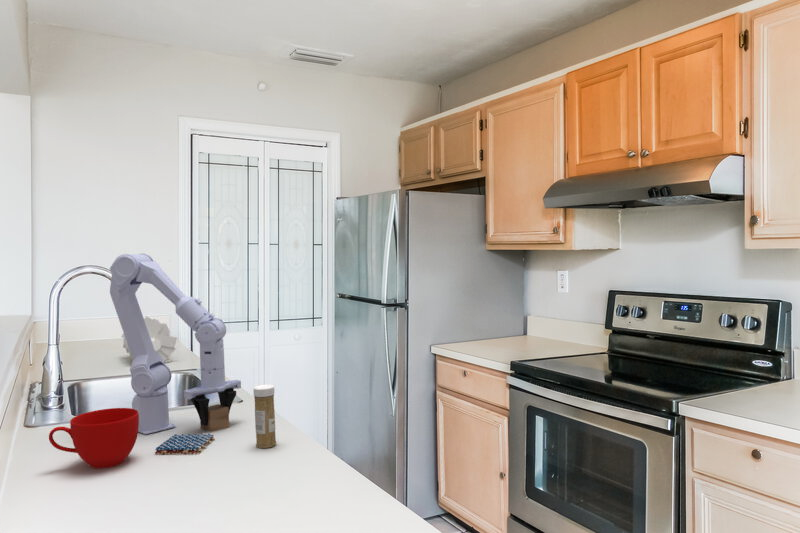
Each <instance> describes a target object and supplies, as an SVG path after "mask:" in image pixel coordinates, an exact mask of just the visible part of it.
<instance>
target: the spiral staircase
mask: <svg viewBox="0 0 800 533" xmlns="http://www.w3.org/2000/svg"><path fill="white" fill-rule="evenodd" d="M143 318H144V317H143ZM144 321H145V324H146V327H147V329H148V332H149V335H150V338H151V341H152V344H153V347H154V350H155V352H156V353H157V354H158V355H160V356H161V357H162V359H163V361H164V362H165V361H167V360H169V357H170V355H172V353H174V352H175V350H176V348H175V346H176V343H177V340H178V338H177V337H175V336H170V335H171V334H170V333H171V331H170V328H169V326H168V325H167V323H164V322H163V323H161V322H160V320H158V319H155V318H151V317H148V316H145V318H144ZM121 338H122V339H123V346H122V348H124V349H125V352H126V353H127V354H129V356H130V357H132V355H131V352H130V349H129V347H128V344H127V341H126V338H125V335H124V332H123V334H122V335H121Z"/></svg>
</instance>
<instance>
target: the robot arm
mask: <svg viewBox="0 0 800 533" xmlns="http://www.w3.org/2000/svg"><path fill="white" fill-rule="evenodd" d="M109 271H110V273H111V280H110V285H109V295H110V298H111V301H112V303H113V306H114V309H115V312H116V314H117V318H118V321H119V323H120V326H121V329H122V332H123V333H124V335H125V338H126V341H127V344H128V347H129V349H130V352H131V355H132V356H131V357H132V362H131V365H130V368H129V371H130V375H131V380H130V386H131V389H132V391H133V392H134V393H136V394H135V395H134V397H133V398H132V401H131V409H135V410H137V411H138V413H139V427H138V433H140V434H143V435H149V434H153V433H157V432H161V431H165V430H169V429H173V428H177V425H176V424H174V423H173V422H170V416H169V414H170V413H169V412H170V410H169V392H168V391H169V389H168V385H169V384H170V382H171V381H172V377H173V376H172V370H171V369H170V368H169V366H167V364H166V363H165V360H164V361H163V359H162V357H161V356H160V355H158V354H157V353H156V352H155V350H154V347H153V344H152V341H151V338H150V335H149V332H148V329H147V327H146V324H145V321H144V315H143V313H142V310H141V307H140V304H139V301H138V297H137V295H136V293H137V291H138V290H139V288H140V287H141V284H143V283H144V284H150V285H152V286H153V287H154V288H155V289H157V290H158V291H159V292H160V293H161V294H162V296H164V297H165V298H167V299H168V300H169V301H170V302H171V303H172V304H173V305H174V306H175V314H176V315H177V316H178V317H179V318H180V319H181V320H182V321H183V322H184V323H185V324H186V325H187V326H188V327H189V328H190V329H191V330H192V331H194V332H195V333H194V336H195V339H196V341H197V342H198V343H199V360H200V363H199V364H200V367H199V368H200V385H199V386H195V387H193V388H189V389H186V390H183V394H184V395H183V397H184V399H185V400H190V401H191V403H192V404H193V406H194V407H195V409H196V412H197V414H198V417H199V422H200V421H201V424H202V425H205V426H206V425H208V406H210V404H209V403H210V398H208V397H207V395H211V394H216V393H217V394H218V399H219V405H222V406H226V407H228V408H229V413H230V412H231V408H232V405H233V402H234V400H235V398H236V396H237V390H239V389H241V388H242V382H241V380H239V379H233V380H227V381H226V372H225V366H226V365H225V348H224V338H225V336H226V334H227V326H226V324H225V323H224V321H223V320H222V319H221V318H219V317H215V314H214V313H210V312H209V311H208V310H207V309H206V308H205V307H204V306H203V305H202V304H201V303H202V302H203V301H202V300H200V298H195V297H194V296H186V294H185V293H184V292H183V291H182V290H181V289H180V288H179V287H178V285H177V284H176V283H175V282H174V281H173V279H171V277H170V276H168V274H167V273H166V272H165V271H164V270H163V268H162V266H161V265H160V263H159V262H157V261H156V260H155V261H154V258H153V257H152V256H151V255H149V254H146V253H138V254H137V253H136V254H129V253H124V254H120V255H118V256H117V257H116V258H115V260H114V261H113V262H112V264H111V265H110V267H109ZM235 389H237V390H235ZM201 424H200V425H201Z"/></svg>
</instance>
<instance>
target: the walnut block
mask: <svg viewBox="0 0 800 533" xmlns="http://www.w3.org/2000/svg"><path fill="white" fill-rule="evenodd" d="M199 422H200V429H202V430H205V431H207V432H210V433H212V432H216V431H220V430H224V429H228V428H230V412H229V408H228V407H226V406H222V405H220V403H218V404H217V403H216V404H212V405H208V425H206V426H205V425H202V424H201V421H200V420H199Z"/></svg>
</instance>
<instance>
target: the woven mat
mask: <svg viewBox="0 0 800 533" xmlns="http://www.w3.org/2000/svg"><path fill="white" fill-rule="evenodd" d="M215 440H216V438H215V437H214V434H210V433H207V434H204V433H201V434H197V433H194V434H190V433H188V434H187V435H186V434H183V433H181V434H177V433H175V434H173V435H172V436H169V438H166V440H164V441H163V442H161V444H159V445H158V446H156V447H155V452H154V453H155V454H154V455H155V456H156V455H159V456H164V455H166V456H167V455H200V454H201V453H202V452H203V451H205V449H207V446H209V445H211V443H214V441H215Z"/></svg>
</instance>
